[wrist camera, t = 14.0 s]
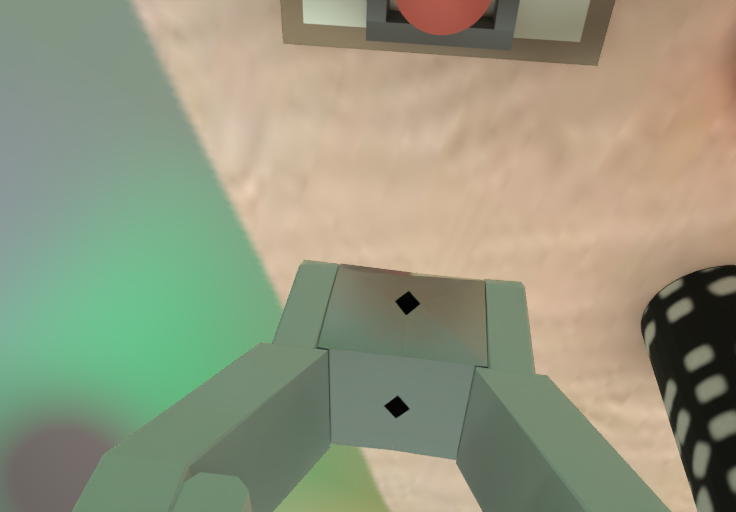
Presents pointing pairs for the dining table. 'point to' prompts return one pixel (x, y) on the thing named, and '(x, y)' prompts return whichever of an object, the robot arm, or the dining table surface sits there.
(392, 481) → the dining table surface
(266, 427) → the robot arm
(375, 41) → the board
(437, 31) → the button
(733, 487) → the spotted tube
